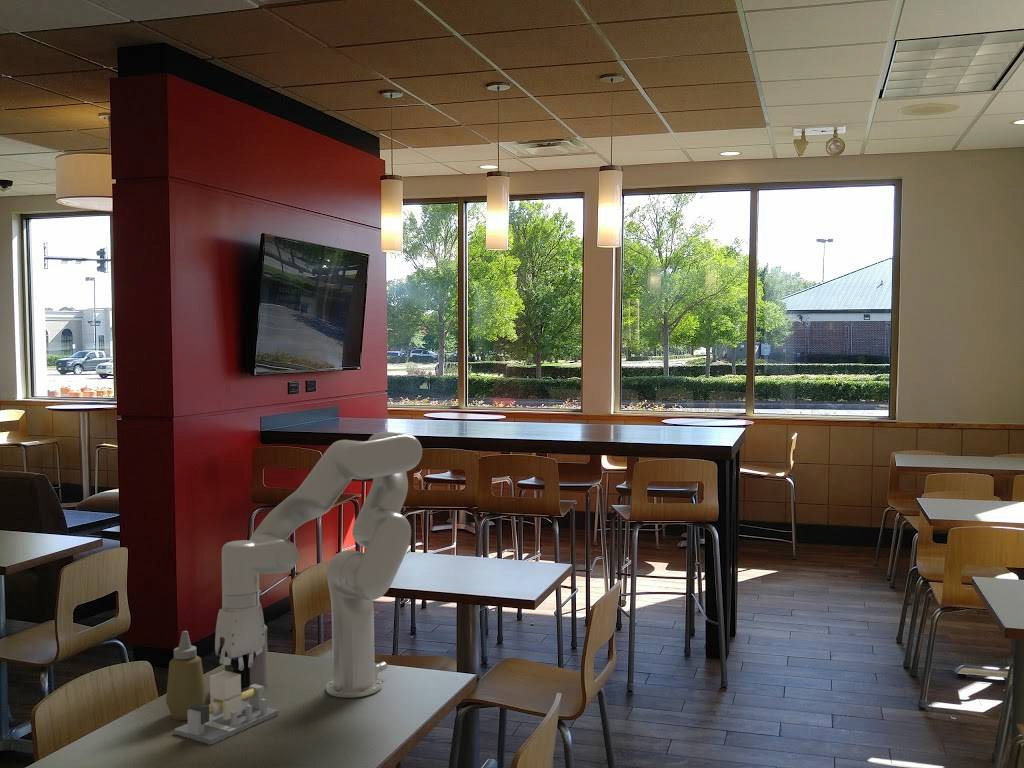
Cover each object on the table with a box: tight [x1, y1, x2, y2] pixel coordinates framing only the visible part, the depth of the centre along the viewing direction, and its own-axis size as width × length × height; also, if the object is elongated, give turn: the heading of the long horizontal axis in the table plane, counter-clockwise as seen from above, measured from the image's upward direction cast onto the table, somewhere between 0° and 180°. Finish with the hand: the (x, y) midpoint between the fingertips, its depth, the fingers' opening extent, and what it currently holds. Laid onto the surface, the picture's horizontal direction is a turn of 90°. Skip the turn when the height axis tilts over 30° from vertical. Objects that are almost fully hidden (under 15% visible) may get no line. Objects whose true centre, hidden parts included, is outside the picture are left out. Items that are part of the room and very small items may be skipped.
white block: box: [209, 670, 242, 720], centre depth 192 cm, size 4×5×8 cm
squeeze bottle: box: [165, 630, 207, 721], centre depth 197 cm, size 8×8×18 cm
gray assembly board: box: [173, 684, 280, 746], centre depth 192 cm, size 18×11×6 cm, turn 148°
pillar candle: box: [224, 623, 269, 693], centre depth 215 cm, size 10×10×15 cm
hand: (241, 686), depth 196 cm, fingers closed
